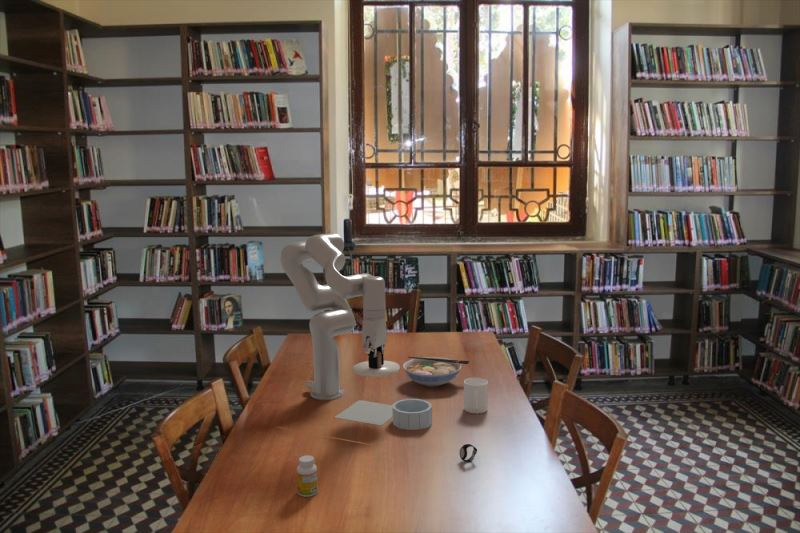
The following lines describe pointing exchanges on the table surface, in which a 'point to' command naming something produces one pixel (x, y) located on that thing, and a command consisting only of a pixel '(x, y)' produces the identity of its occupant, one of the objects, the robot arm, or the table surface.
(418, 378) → the ramen bowl
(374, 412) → the mat
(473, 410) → the mug
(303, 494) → the supplement bottle
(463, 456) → the smartwatch
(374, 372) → the lid
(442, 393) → the table surface
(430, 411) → the bowl
